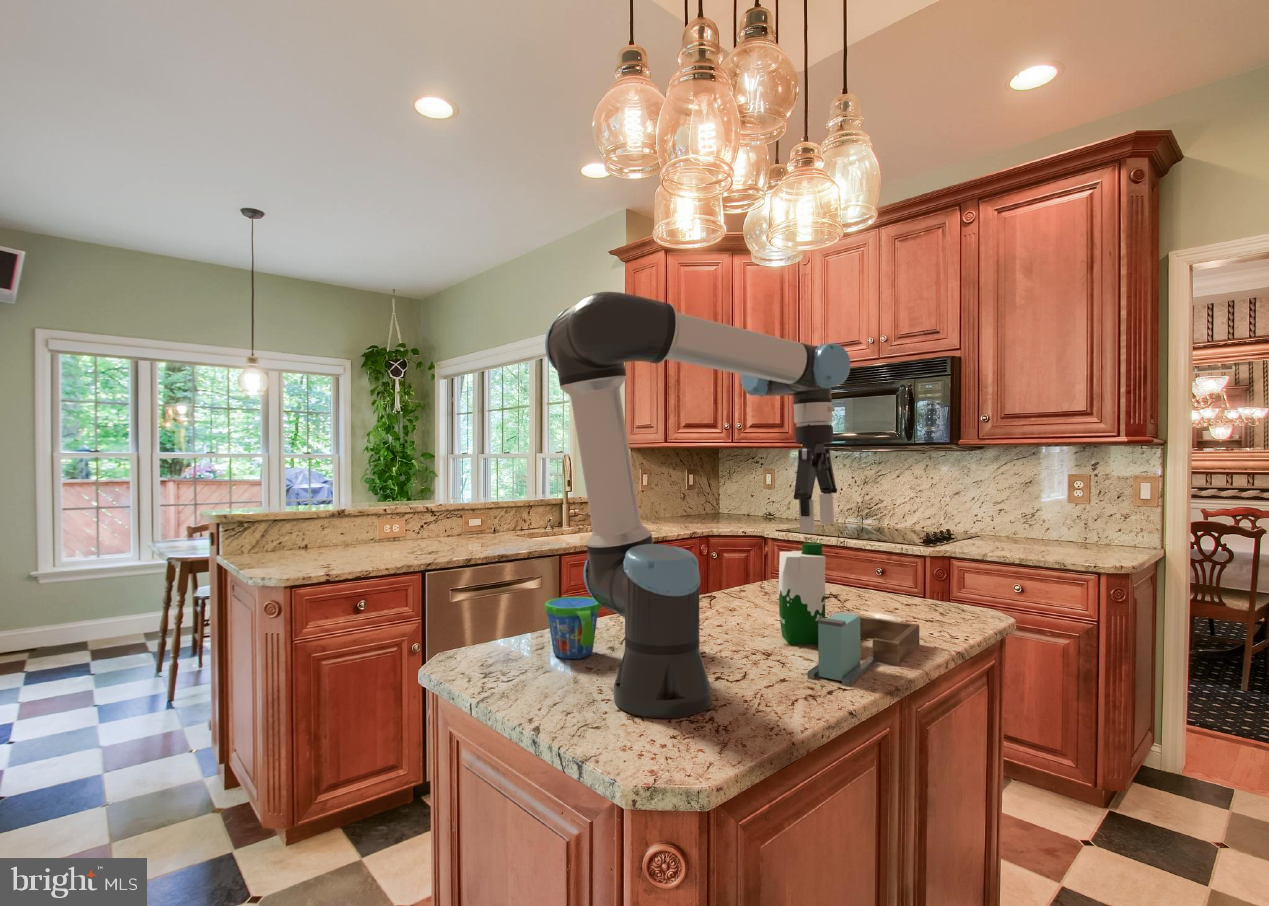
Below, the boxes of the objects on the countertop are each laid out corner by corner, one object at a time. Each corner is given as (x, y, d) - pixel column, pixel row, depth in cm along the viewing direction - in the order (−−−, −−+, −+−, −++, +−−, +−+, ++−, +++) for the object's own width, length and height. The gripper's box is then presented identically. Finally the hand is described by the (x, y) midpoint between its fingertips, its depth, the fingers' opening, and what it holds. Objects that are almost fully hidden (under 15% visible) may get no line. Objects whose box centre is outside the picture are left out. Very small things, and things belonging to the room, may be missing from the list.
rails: (807, 677, 109) (807, 671, 109) (837, 655, 121) (837, 650, 121) (849, 686, 104) (849, 680, 104) (876, 663, 116) (876, 657, 116)
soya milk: (829, 646, 126) (829, 546, 127) (784, 646, 127) (783, 546, 127) (818, 634, 135) (818, 541, 135) (776, 634, 136) (775, 541, 136)
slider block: (818, 676, 108) (817, 619, 109) (838, 661, 116) (837, 608, 117) (842, 681, 106) (841, 623, 106) (860, 665, 114) (860, 612, 114)
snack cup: (537, 646, 128) (537, 595, 128) (587, 640, 131) (587, 591, 131) (555, 670, 113) (555, 613, 113) (611, 663, 117) (611, 608, 117)
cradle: (820, 651, 123) (820, 630, 123) (848, 633, 136) (847, 614, 137) (897, 665, 115) (897, 643, 115) (919, 644, 128) (919, 624, 128)
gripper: (813, 422, 117) (818, 537, 117) (848, 424, 138) (852, 521, 138) (774, 425, 121) (778, 536, 121) (813, 426, 142) (817, 520, 142)
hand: (817, 528), depth 129 cm, fingers open, 13 cm apart
